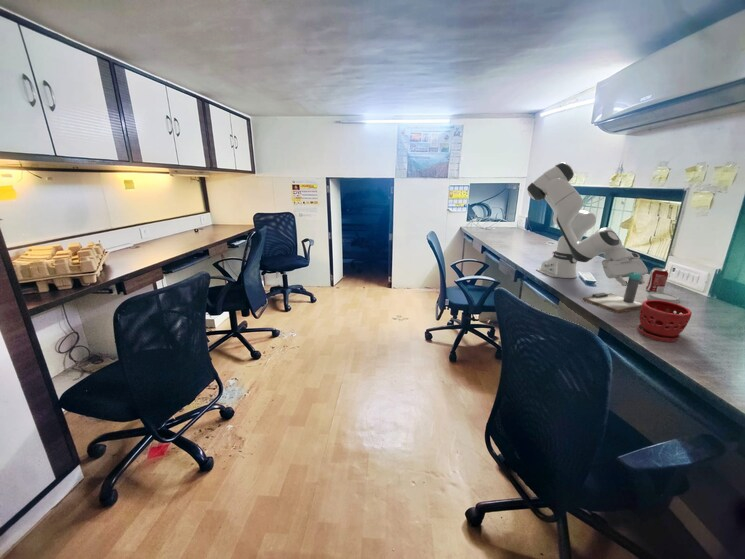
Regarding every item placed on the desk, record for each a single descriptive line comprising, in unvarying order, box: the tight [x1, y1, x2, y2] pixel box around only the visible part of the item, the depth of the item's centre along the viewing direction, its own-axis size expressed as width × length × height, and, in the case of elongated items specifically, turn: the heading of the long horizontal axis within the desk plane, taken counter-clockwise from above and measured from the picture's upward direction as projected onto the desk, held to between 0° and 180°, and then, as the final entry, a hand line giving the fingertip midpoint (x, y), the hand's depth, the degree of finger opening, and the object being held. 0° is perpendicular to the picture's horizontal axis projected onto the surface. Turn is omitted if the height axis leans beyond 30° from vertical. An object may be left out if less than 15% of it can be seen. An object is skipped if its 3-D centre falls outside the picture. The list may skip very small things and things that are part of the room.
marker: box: [623, 272, 641, 303], centre depth 141 cm, size 4×4×13 cm
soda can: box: [645, 267, 669, 293], centre depth 158 cm, size 7×7×12 cm
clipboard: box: [582, 292, 643, 314], centre depth 144 cm, size 16×19×2 cm
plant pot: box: [637, 299, 692, 343], centre depth 112 cm, size 13×13×12 cm
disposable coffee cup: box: [646, 292, 680, 312], centre depth 122 cm, size 10×10×12 cm
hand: (634, 284), depth 140 cm, fingers open, 8 cm apart
